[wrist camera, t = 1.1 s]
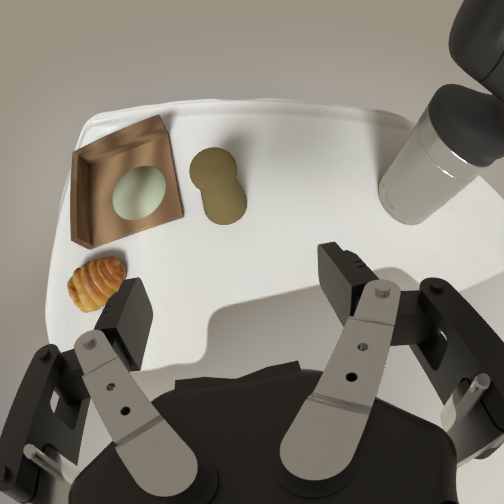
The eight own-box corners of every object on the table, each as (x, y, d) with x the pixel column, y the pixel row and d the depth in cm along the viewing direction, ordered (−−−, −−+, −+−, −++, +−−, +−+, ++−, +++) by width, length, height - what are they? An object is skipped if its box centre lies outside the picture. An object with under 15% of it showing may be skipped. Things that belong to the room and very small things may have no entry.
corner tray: (168, 133, 43) (159, 114, 38) (183, 217, 39) (173, 202, 34) (87, 166, 43) (72, 152, 38) (89, 249, 39) (71, 240, 34)
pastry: (117, 247, 39) (105, 240, 35) (136, 286, 37) (123, 282, 33) (74, 279, 38) (59, 275, 34) (89, 318, 36) (74, 317, 33)
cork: (205, 228, 38) (182, 191, 28) (202, 188, 40) (182, 144, 29) (249, 221, 38) (242, 182, 28) (244, 182, 40) (236, 134, 29)
